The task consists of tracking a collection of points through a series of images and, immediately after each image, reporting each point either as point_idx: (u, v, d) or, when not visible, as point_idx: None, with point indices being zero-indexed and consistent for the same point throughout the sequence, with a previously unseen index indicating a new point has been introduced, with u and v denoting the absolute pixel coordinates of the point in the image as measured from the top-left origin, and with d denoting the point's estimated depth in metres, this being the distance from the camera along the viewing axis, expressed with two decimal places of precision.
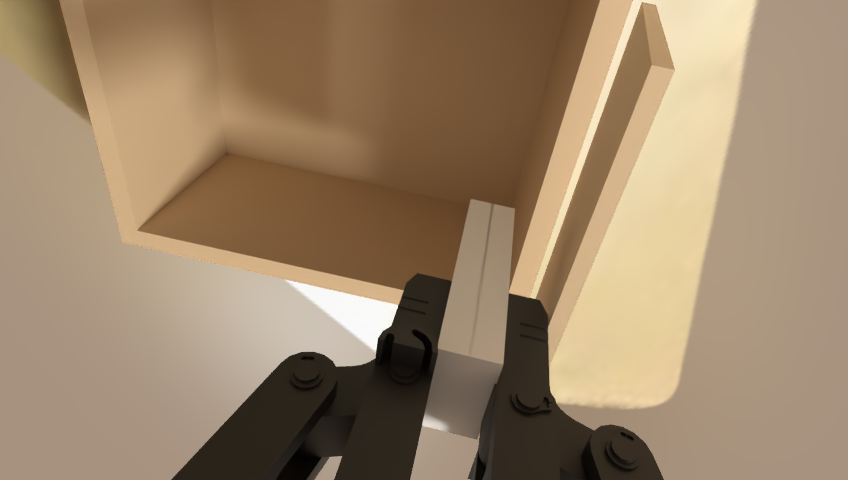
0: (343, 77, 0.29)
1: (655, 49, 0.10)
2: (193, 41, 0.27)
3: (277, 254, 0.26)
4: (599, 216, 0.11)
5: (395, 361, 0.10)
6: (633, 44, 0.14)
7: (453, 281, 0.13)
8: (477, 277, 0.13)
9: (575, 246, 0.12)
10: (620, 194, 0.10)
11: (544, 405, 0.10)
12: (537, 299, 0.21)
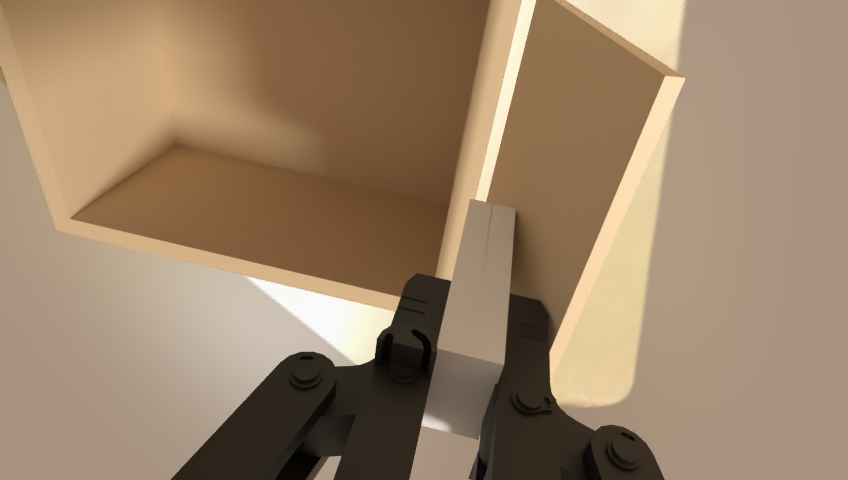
0: (285, 68, 0.29)
1: (637, 53, 0.10)
2: (131, 31, 0.27)
3: (208, 244, 0.26)
4: (609, 226, 0.11)
5: (394, 361, 0.10)
6: (557, 37, 0.13)
7: (452, 281, 0.13)
8: (478, 277, 0.13)
9: (569, 254, 0.12)
10: (629, 202, 0.10)
11: (545, 405, 0.10)
12: None
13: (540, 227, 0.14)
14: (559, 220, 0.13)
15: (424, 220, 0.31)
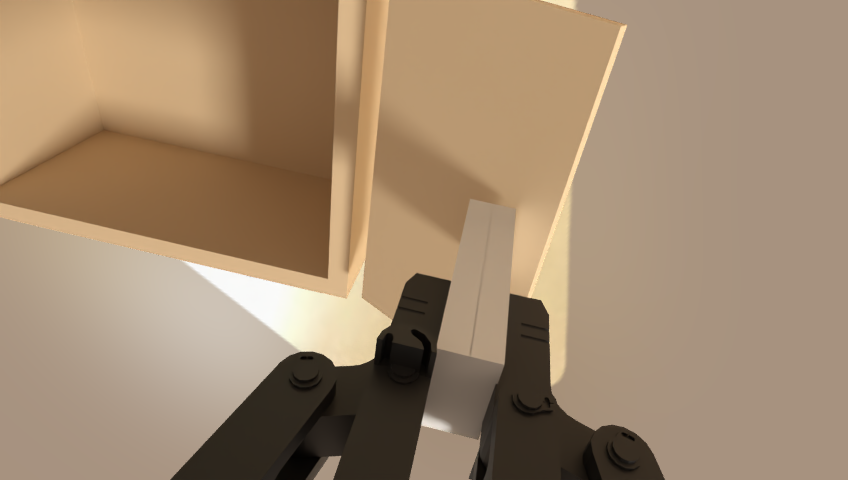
0: (200, 51, 0.30)
1: (572, 11, 0.13)
2: (43, 14, 0.28)
3: (115, 222, 0.26)
4: (581, 147, 0.14)
5: (394, 361, 0.10)
6: (447, 5, 0.15)
7: (452, 281, 0.13)
8: (478, 277, 0.13)
9: (539, 180, 0.15)
10: None
11: (545, 405, 0.10)
12: (382, 259, 0.22)
13: (485, 171, 0.16)
14: (514, 158, 0.15)
15: None
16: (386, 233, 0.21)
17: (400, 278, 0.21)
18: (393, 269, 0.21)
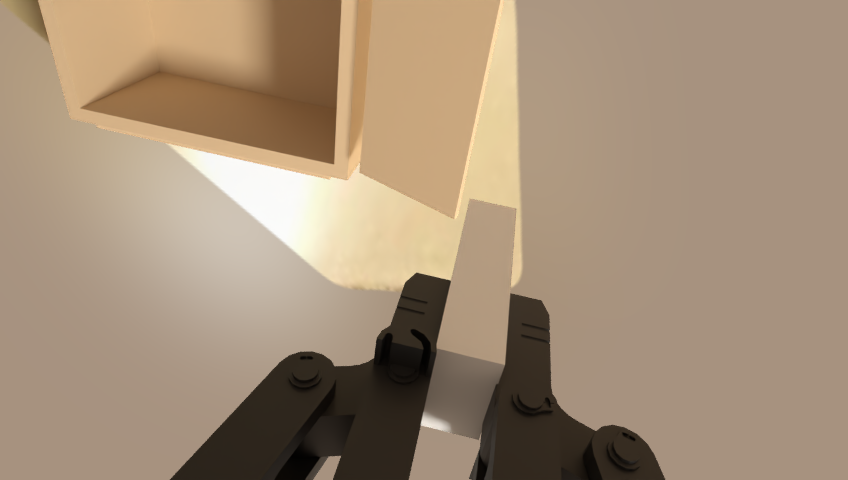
0: (238, 7, 0.40)
1: None
2: None
3: (179, 126, 0.36)
4: (495, 32, 0.24)
5: (394, 361, 0.10)
6: None
7: (452, 281, 0.13)
8: (479, 277, 0.13)
9: (473, 57, 0.26)
10: None
11: (546, 406, 0.10)
12: (374, 137, 0.32)
13: (441, 57, 0.27)
14: (458, 45, 0.26)
15: None
16: (377, 116, 0.31)
17: (387, 148, 0.31)
18: (382, 143, 0.31)
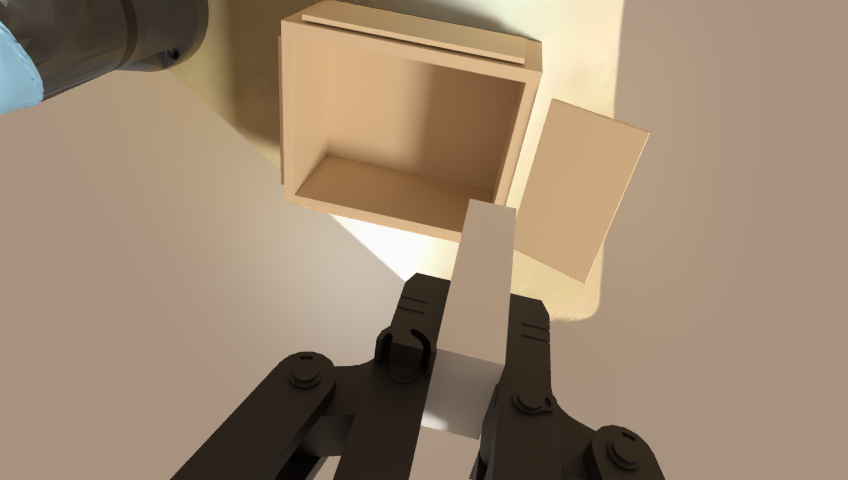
0: (400, 113, 0.53)
1: (630, 126, 0.36)
2: (321, 94, 0.51)
3: (367, 208, 0.49)
4: (632, 172, 0.38)
5: (394, 361, 0.10)
6: (577, 118, 0.38)
7: (452, 281, 0.13)
8: (478, 277, 0.13)
9: (614, 185, 0.39)
10: None
11: (545, 406, 0.10)
12: (525, 225, 0.45)
13: (589, 182, 0.40)
14: (603, 177, 0.39)
15: (476, 198, 0.54)
16: (530, 211, 0.44)
17: (535, 233, 0.44)
18: (531, 229, 0.45)
